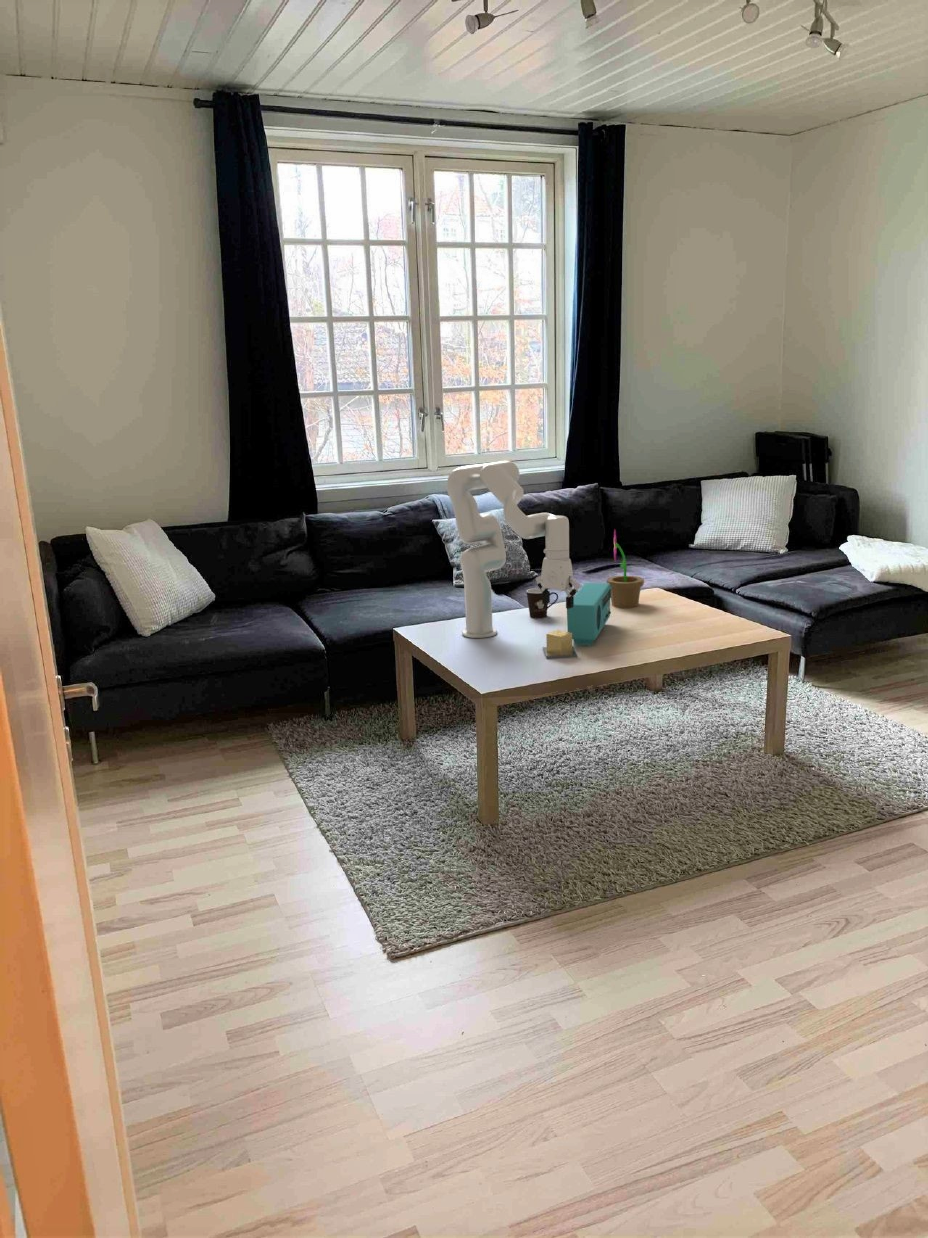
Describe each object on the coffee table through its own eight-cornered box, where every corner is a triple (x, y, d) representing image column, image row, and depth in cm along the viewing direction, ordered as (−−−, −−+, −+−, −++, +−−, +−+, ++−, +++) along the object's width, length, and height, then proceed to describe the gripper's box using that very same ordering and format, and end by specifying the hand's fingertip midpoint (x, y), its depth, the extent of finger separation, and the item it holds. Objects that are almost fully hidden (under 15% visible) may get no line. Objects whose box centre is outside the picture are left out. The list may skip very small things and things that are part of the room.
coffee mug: (525, 618, 360) (524, 593, 358) (528, 613, 368) (528, 588, 366) (555, 619, 358) (555, 593, 355) (558, 613, 366) (558, 588, 363)
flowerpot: (605, 600, 382) (605, 526, 374) (642, 600, 381) (642, 525, 373) (607, 609, 368) (607, 533, 361) (645, 609, 367) (645, 532, 359)
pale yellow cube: (546, 651, 315) (546, 633, 314) (557, 647, 320) (557, 629, 318) (561, 654, 311) (560, 636, 310) (572, 650, 316) (572, 632, 314)
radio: (597, 649, 319) (597, 605, 315) (566, 647, 322) (566, 604, 318) (613, 622, 350) (613, 582, 347) (585, 621, 354) (584, 582, 350)
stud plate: (542, 650, 320) (542, 634, 319) (572, 648, 321) (572, 633, 319) (546, 658, 311) (546, 642, 309) (576, 657, 311) (576, 641, 310)
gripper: (529, 553, 310) (530, 604, 315) (572, 559, 299) (572, 612, 303) (543, 549, 316) (544, 599, 320) (586, 555, 304) (586, 607, 309)
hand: (557, 605), depth 312 cm, fingers open, 9 cm apart
